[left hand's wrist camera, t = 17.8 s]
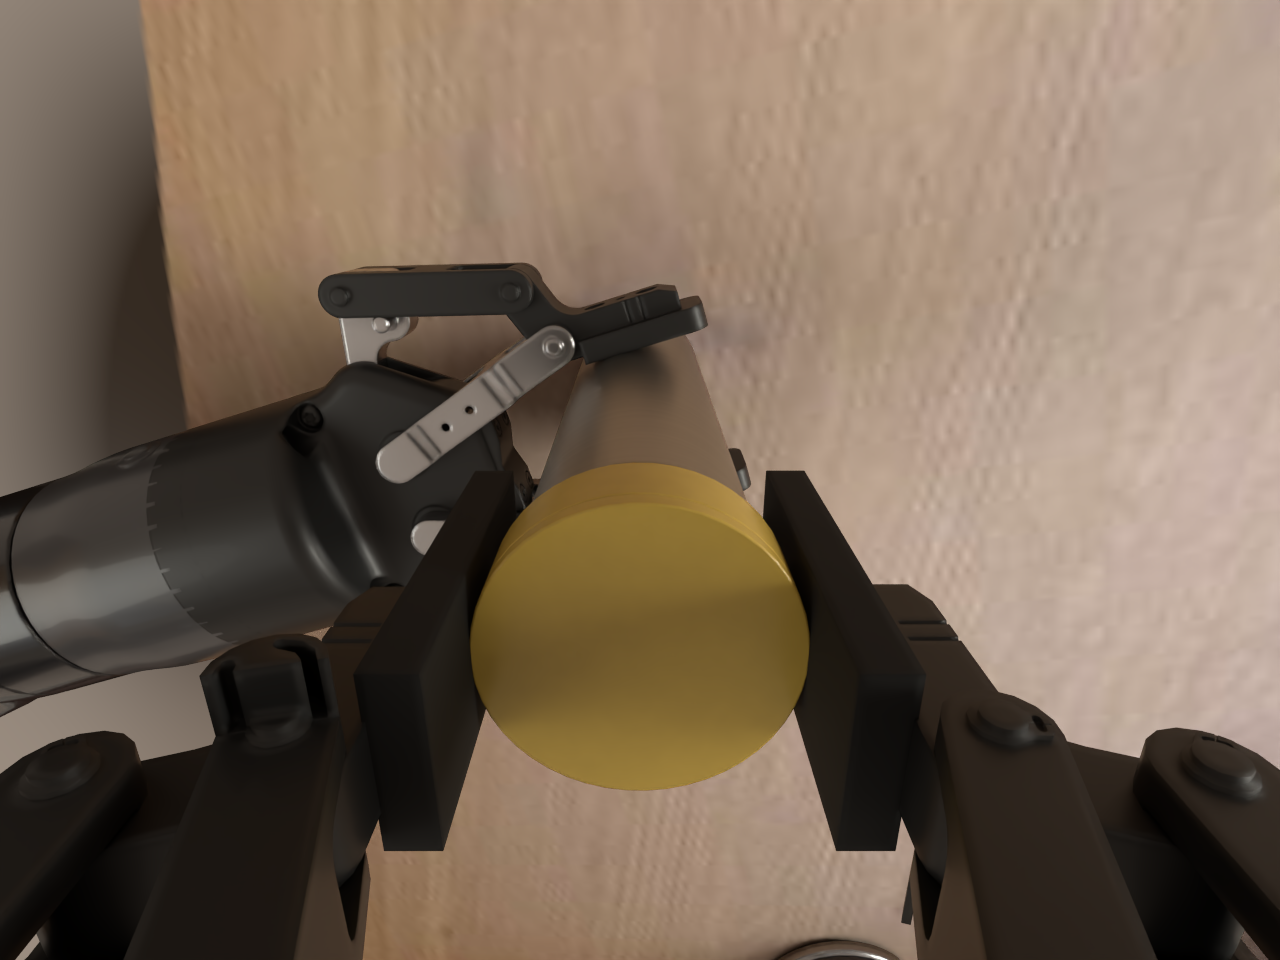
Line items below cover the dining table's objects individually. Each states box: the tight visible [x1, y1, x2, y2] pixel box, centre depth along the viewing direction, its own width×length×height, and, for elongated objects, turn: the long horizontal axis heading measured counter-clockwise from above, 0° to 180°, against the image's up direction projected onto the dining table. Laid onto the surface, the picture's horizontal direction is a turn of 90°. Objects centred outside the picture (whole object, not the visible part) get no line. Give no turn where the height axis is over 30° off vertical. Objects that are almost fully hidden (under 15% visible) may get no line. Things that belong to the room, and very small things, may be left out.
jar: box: [533, 335, 746, 501], centre depth 20 cm, size 4×4×18 cm
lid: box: [470, 462, 810, 790], centre depth 11 cm, size 5×5×2 cm
